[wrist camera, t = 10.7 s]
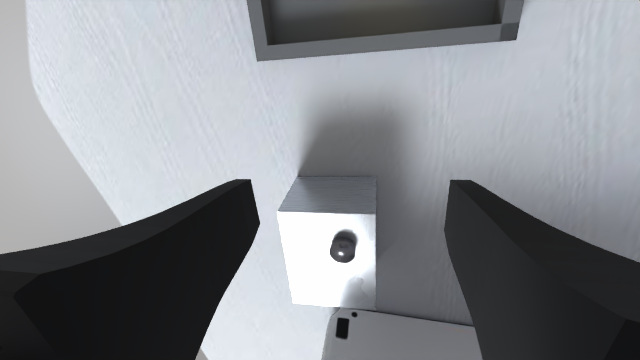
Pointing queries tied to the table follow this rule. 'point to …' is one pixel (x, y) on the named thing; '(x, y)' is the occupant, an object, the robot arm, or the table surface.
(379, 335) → the stereo radio cassette player
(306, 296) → the box
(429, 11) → the parts tray
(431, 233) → the table surface
